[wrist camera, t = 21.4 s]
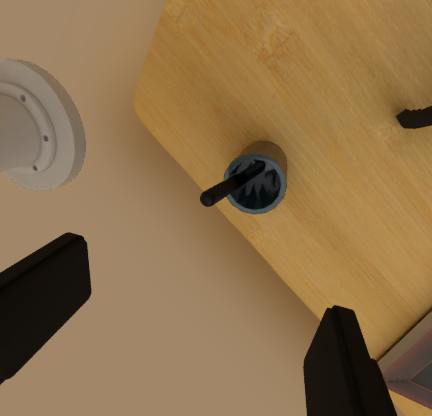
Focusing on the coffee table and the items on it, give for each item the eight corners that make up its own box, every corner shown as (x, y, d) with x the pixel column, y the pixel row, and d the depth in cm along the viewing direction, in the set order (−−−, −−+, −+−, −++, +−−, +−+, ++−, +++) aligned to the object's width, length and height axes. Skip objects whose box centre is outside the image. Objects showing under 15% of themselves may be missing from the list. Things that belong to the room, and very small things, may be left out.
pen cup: (235, 182, 31) (219, 206, 24) (243, 136, 29) (228, 148, 22) (280, 192, 30) (277, 220, 23) (292, 145, 28) (293, 160, 21)
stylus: (255, 170, 29) (196, 205, 19) (257, 160, 29) (197, 191, 18) (265, 172, 29) (210, 211, 18) (267, 162, 28) (212, 195, 18)
